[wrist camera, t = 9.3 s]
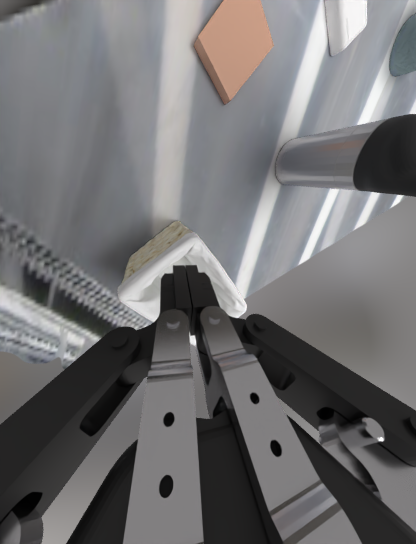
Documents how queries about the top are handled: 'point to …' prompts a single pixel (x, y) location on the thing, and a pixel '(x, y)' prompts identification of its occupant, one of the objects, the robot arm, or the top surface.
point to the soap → (344, 22)
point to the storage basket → (160, 259)
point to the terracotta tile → (234, 44)
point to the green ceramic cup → (404, 49)
